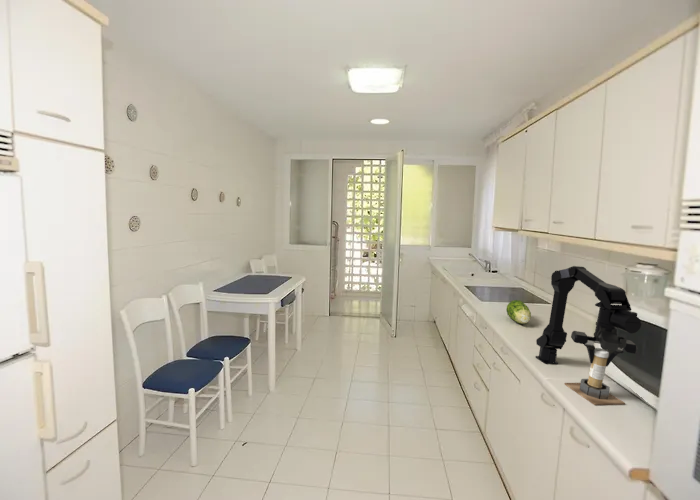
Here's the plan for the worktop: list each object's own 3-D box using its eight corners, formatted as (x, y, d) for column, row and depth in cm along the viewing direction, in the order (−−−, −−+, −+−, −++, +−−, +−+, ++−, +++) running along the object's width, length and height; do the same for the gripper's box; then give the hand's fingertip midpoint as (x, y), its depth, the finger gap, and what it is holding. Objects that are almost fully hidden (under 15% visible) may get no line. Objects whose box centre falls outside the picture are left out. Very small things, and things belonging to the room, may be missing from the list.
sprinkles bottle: (588, 381, 136) (595, 346, 134) (603, 386, 133) (610, 350, 131) (585, 385, 133) (592, 349, 131) (600, 390, 130) (607, 354, 128)
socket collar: (574, 386, 137) (575, 378, 136) (594, 386, 138) (595, 378, 138) (593, 399, 128) (594, 391, 128) (614, 398, 130) (615, 390, 129)
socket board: (564, 384, 139) (564, 382, 139) (592, 383, 141) (592, 382, 141) (594, 405, 125) (595, 403, 125) (624, 404, 127) (625, 402, 127)
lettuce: (512, 327, 202) (515, 307, 200) (503, 315, 222) (505, 297, 221) (534, 329, 200) (538, 309, 199) (523, 318, 220) (526, 299, 219)
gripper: (581, 324, 125) (573, 367, 127) (648, 335, 119) (638, 381, 121) (574, 315, 135) (567, 355, 138) (635, 325, 129) (626, 367, 132)
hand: (598, 364), depth 132 cm, fingers closed on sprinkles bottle, 4 cm apart
